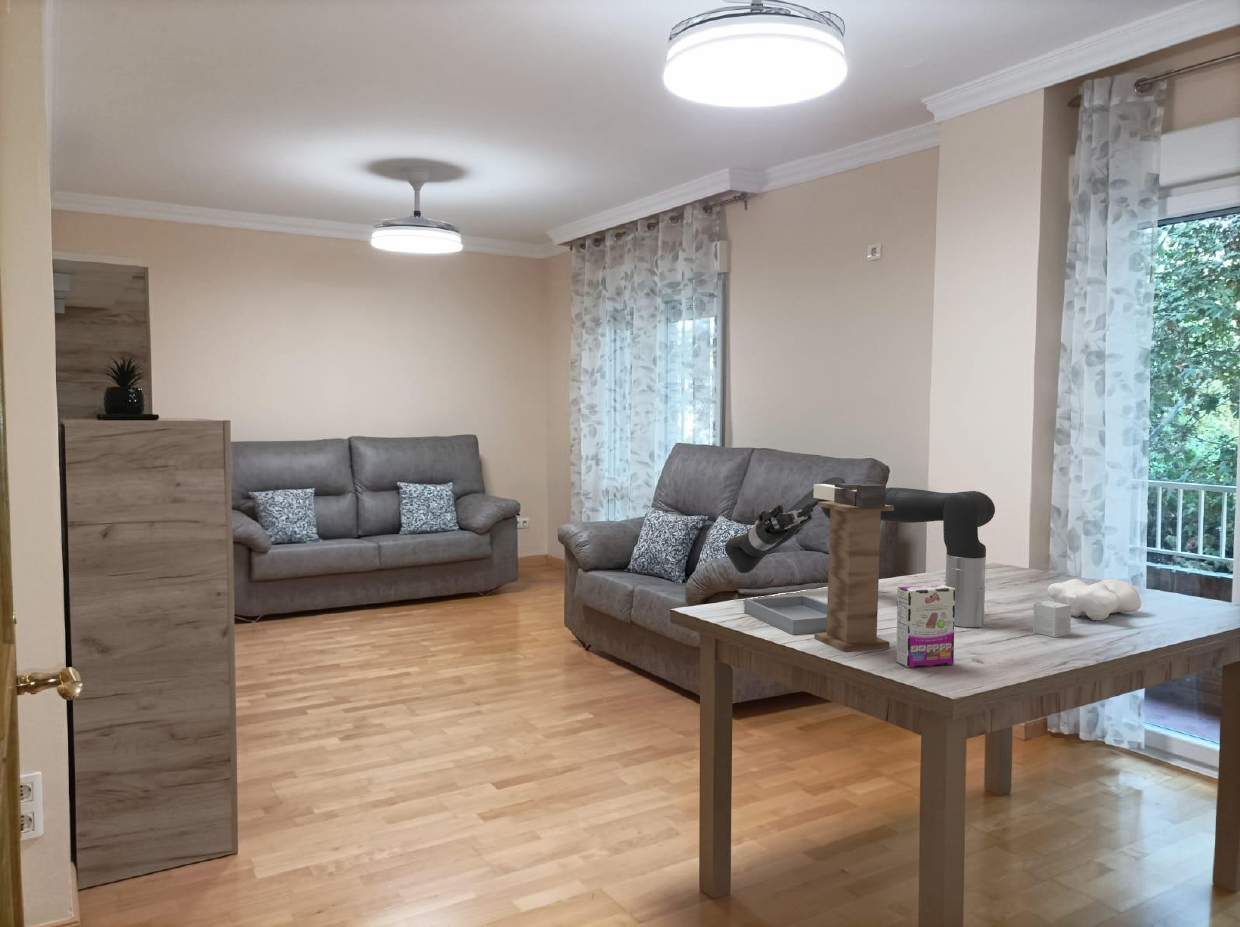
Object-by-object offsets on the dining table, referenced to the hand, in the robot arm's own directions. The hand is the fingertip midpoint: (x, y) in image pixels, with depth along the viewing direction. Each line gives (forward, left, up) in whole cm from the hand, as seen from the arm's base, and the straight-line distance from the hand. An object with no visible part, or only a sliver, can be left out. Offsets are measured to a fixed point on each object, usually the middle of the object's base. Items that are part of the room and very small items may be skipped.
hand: (796, 507), depth 232 cm
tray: (-2, +2, -28) cm, 28 cm away
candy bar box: (-35, +28, -29) cm, 53 cm away
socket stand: (-18, +18, -28) cm, 38 cm away
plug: (-14, +14, +4) cm, 20 cm away
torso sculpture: (-70, -38, -29) cm, 85 cm away
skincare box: (-60, -13, -29) cm, 67 cm away
